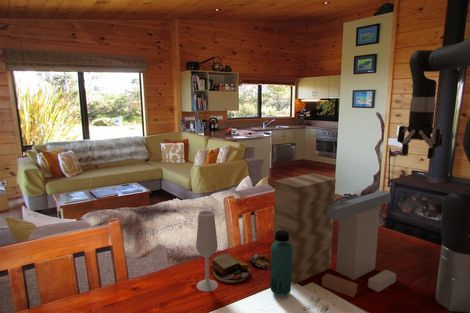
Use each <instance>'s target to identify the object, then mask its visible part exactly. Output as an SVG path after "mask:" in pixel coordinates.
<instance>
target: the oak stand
mask: <svg viewBox="0 0 470 313" xmlns="http://www.w3.org/2000/svg"><path fill="white" fill-rule="evenodd" d="M336 180H337V179H336V178H333V177H328V176H325V175H321V174H317V173H313V172H311V173H307V174H302V175H297V176H293V177H288V178H287V177H286V178H281V179H278V180H277V179H276V180H274V202H273V203H274V206H273V207H274V208H273V242H272V244H273V243H274V242H276V241H277V240H275V234H276V232H277V231H280V230H283V231H287V232H288V233H289V241H287V242H288V243H290V244H291V245H292V265H291V269H292V270H291V271H292V272H291V282H292V283H296V284H298V283H301V282H303V281H305V280H307V279H309V278H312V277H314V276H316V275H318V274H320V273H322V272H325V271H327V270H329V269H331V268H332V267H331V264H332V248H333V247H332V246H333V230H334V219H331V218H328V217H327V206H330V205H333V204H335V197H336V196H335V195H336ZM292 283H291V284H292Z"/></svg>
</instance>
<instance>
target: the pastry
mask: <svg viewBox="0 0 470 313" xmlns="http://www.w3.org/2000/svg"><path fill="white" fill-rule="evenodd" d="M248 261H249V267H250V268H251V267H252V268H253V266H254V265H255V266H256V267H257V268H262V269H263V270H264V271H265V270H269V271H270V272H271V258H269V256H268V254H266V253H264V254H260V253H256V254H252V255H251V256H249V257H248Z"/></svg>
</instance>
